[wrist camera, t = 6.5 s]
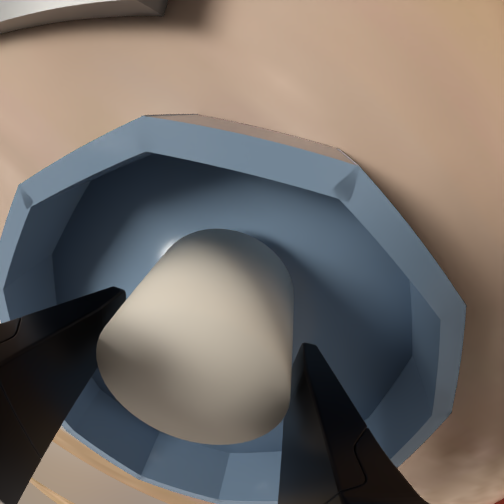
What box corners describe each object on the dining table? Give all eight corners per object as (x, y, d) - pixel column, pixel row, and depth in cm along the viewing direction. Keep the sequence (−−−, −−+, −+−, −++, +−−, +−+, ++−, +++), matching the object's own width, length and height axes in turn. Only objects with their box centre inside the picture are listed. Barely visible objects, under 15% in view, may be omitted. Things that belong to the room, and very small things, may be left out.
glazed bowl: (493, 208, 10) (553, 249, 6) (330, 469, 17) (329, 520, 14) (53, 98, 10) (-19, 105, 7) (71, 392, 18) (43, 433, 14)
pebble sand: (312, 251, 10) (321, 342, 6) (272, 361, 12) (261, 458, 8) (164, 212, 10) (89, 277, 6) (153, 328, 12) (104, 411, 8)
